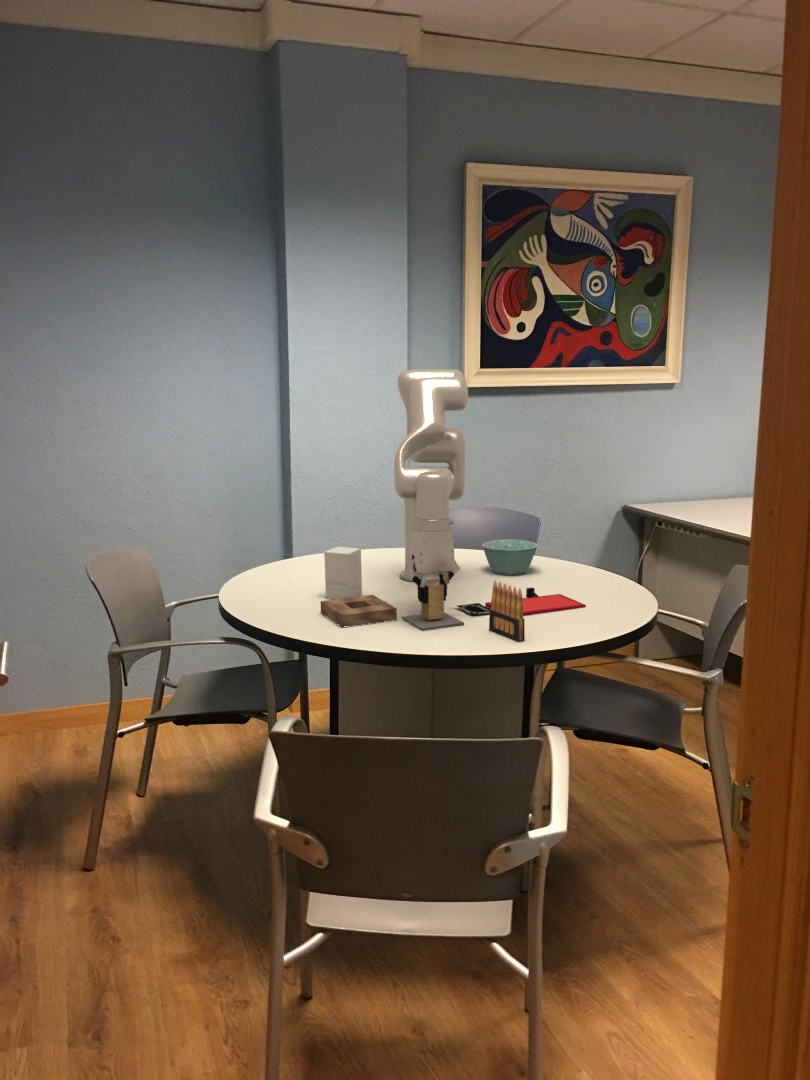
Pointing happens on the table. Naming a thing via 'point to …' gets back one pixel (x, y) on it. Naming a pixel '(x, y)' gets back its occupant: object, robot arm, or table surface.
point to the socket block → (358, 610)
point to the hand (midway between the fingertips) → (432, 600)
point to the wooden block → (433, 601)
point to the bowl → (509, 555)
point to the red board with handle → (532, 604)
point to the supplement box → (343, 573)
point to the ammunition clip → (507, 612)
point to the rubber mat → (432, 622)
